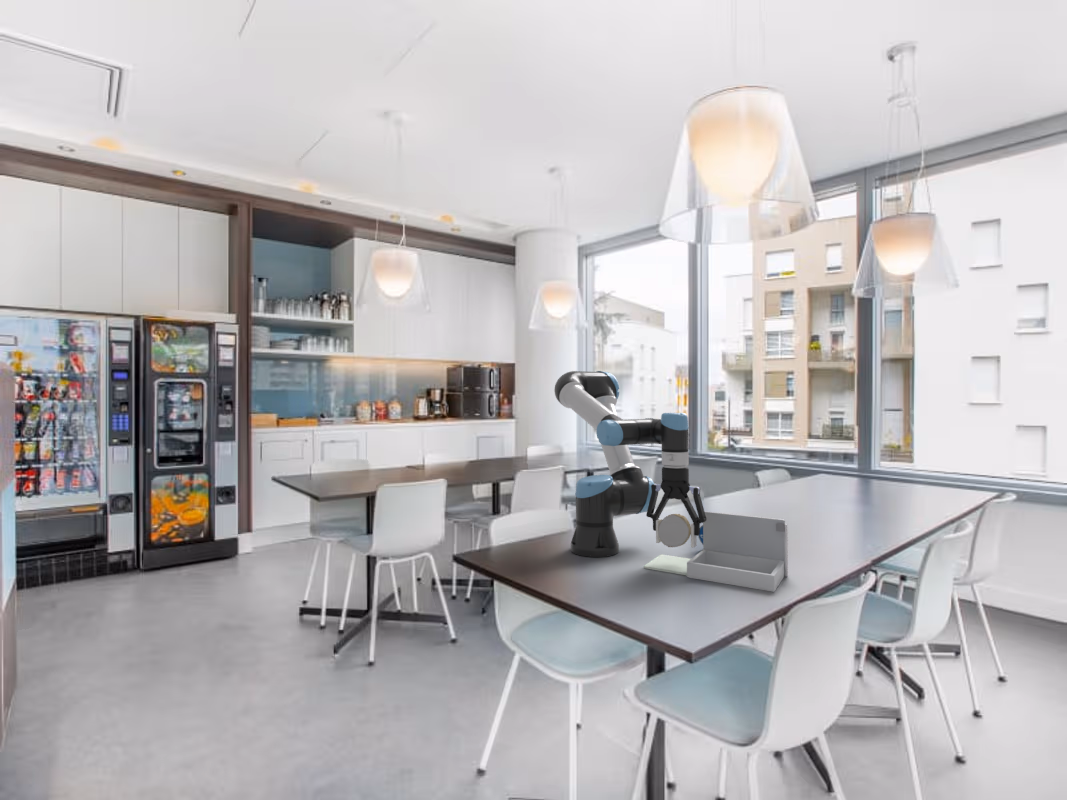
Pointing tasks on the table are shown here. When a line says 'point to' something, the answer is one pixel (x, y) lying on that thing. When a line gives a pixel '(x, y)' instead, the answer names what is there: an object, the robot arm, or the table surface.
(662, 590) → the table surface
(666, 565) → the mat
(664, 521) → the coral
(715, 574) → the case
